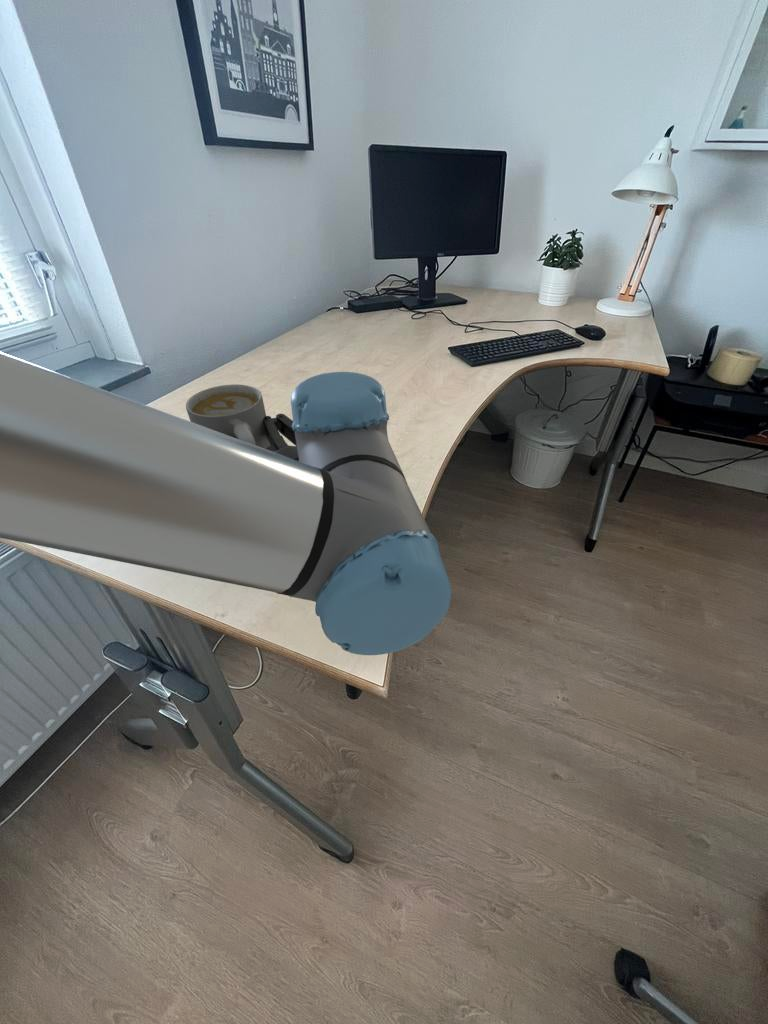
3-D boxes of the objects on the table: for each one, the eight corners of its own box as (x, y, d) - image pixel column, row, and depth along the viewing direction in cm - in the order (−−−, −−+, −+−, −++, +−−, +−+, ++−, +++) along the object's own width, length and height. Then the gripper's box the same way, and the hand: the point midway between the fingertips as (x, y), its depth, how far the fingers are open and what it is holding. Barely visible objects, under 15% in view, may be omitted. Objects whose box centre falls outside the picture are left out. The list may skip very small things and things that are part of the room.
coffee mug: (204, 452, 67) (184, 391, 61) (268, 439, 70) (256, 379, 63) (210, 502, 57) (187, 435, 51) (285, 485, 60) (272, 420, 54)
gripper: (236, 546, 47) (171, 456, 62) (366, 486, 55) (282, 419, 70) (218, 491, 43) (152, 408, 57) (364, 435, 51) (274, 374, 65)
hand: (224, 414), depth 63 cm, fingers closed on coffee mug, 4 cm apart
